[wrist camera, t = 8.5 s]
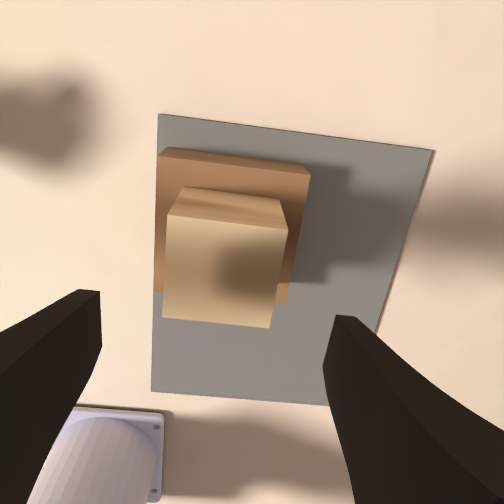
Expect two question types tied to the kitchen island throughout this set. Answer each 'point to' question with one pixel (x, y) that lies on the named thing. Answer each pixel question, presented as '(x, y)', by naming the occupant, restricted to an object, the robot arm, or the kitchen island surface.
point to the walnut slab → (232, 181)
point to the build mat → (296, 264)
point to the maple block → (223, 257)
